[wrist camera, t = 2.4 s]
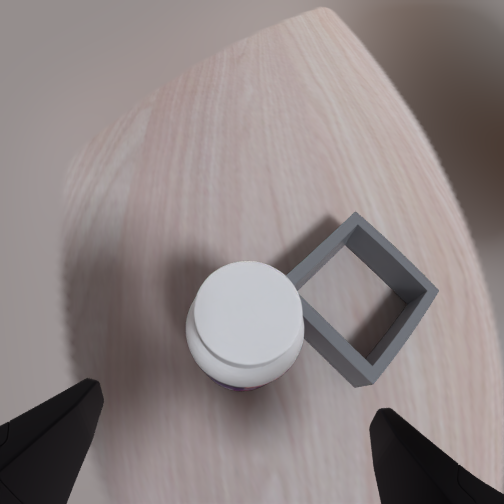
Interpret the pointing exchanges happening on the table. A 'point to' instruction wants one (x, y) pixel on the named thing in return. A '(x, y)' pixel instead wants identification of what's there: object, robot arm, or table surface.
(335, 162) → the table surface
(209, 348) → the pill bottle
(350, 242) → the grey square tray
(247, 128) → the table surface
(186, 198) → the table surface
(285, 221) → the table surface
